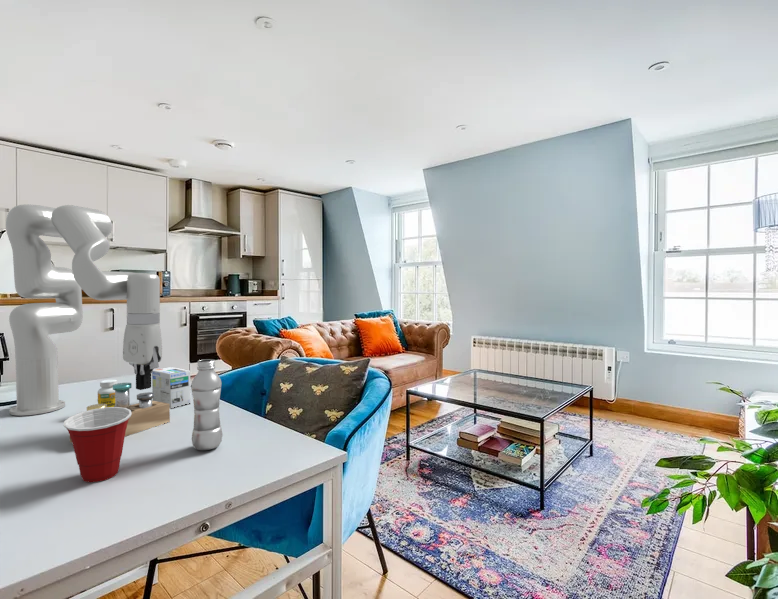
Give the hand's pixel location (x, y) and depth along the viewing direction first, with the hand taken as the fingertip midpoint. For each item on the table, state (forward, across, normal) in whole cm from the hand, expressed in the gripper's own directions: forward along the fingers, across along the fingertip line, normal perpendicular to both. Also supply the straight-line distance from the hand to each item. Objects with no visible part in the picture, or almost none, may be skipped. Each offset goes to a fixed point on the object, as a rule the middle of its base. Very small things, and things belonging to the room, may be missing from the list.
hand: (143, 388), depth 110 cm
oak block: (+10, +1, -6) cm, 11 cm away
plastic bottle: (+9, +29, -4) cm, 30 cm away
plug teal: (+5, +1, -6) cm, 8 cm away
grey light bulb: (+9, +1, 0) cm, 9 cm away
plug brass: (+9, +1, -12) cm, 15 cm away
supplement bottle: (+10, -17, +1) cm, 20 cm away
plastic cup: (+9, +22, -23) cm, 33 cm away
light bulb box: (+10, -10, +16) cm, 21 cm away
